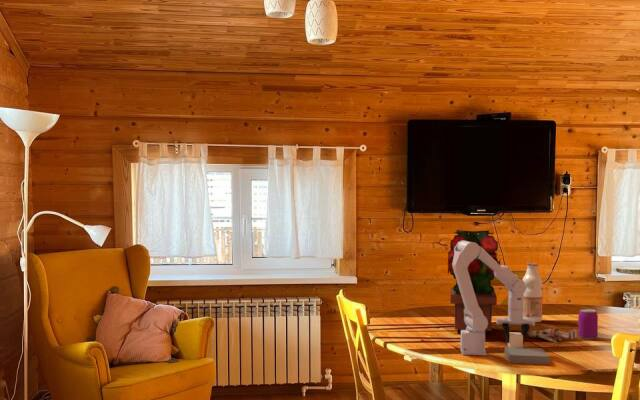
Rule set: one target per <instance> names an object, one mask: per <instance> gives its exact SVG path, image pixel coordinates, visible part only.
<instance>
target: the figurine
mask: <svg viewBox="0 0 640 400" xmlns="http://www.w3.org/2000/svg"><path fill="white" fill-rule="evenodd" d="M577 332H578V331H577V329H572V330H569V331H568V333H567V332H564V331H560V330H559V329H558V328H551V327H550V328H544V329H543V328H542V329H541V330H539V331H538V330H536V329H532V328H531V329H529V330H528V336H529V338H533V339H539V338H540V339H544V340H547V341H549V342H551V343H553V344H557V343H558V341H560V342H563V339H569V340H574V339H575V338H577V335H578V333H577ZM562 338H563V339H562Z"/></svg>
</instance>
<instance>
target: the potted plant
mask: <svg viewBox="0 0 640 400" xmlns="http://www.w3.org/2000/svg"><path fill="white" fill-rule="evenodd" d="M454 234H456V235H454V236H453V239H451V240H450V246H449V247H450V251H448V252H447V255H448V256H447V275H449V274H450V276H453V279H454V280H456V277H455V273H454V270H453V266H452V263H453V258H454V248H455V247H456V245H457V244H458V242H460V241H462V240H465V241H468V242H474V243H477V244H478V245H479V246H480V247H482V248H483V249H484V250H485V251H486V252H487V253H488V254H489V255H490V256H491V257H492V258H493V259H494V260H495V261H496V262H497V263H498V264H499V265H501V259H499V261H498V255H497V254H498V253H497V251H498V250H499V243H498V241H497V240H496V239H495V237H494V236H493V234H494V232H490V230H489V229H488V230H475V231H474V230H463V229H456V231H455V232H454ZM467 269H468V273H469V276H470V279H471V283H472V286H473V289H474V293H475V296H476V299H477V303H478V306H479V307H480V309H481V310H482V312H483V315H484V316H485V317H486V318H487V320H488V326H487V328H486V329H485V335H487V332H492V318H493V312H492V309H493V308H492V306H497V303H498V297H497V294H496V291H495V289H494V286H492V285H491V284H492V283H491V282H492V281H493V280H494V279H495V278H496V277H495V276H494V271H493V270H492V269H491V268H490V267H488V266H487V265H486V264H485V263H484V262H482V261H481V260H480V259H478V258H475V259H474V260H473V261H472V262H470V264H469V265H468V267H467ZM450 304H454V330H458V332H459V334H461V330H466V327H467V325H466V324H465V322H464V309H465V306H464V303H463V300H462V296H461V293H460V290H459V286H458V283H457V280H456V282H455V285H453V287H450Z"/></svg>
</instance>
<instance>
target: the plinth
mask: <svg viewBox="0 0 640 400" xmlns="http://www.w3.org/2000/svg"><path fill="white" fill-rule="evenodd" d="M504 356H505V357H506V359H507V361H508V362H509V364H520V365H521V364H522V365H523V364H525V365H549V366H550V356H549V355H548V353H547V352H546V351H545V350H544V349H543V348H542V347H523V348H522V347H509V346H504Z"/></svg>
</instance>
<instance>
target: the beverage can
mask: <svg viewBox="0 0 640 400" xmlns="http://www.w3.org/2000/svg"><path fill="white" fill-rule="evenodd" d="M598 316H599V315H598V312H597V311H596V310H595V309H593V308H581V309H580V310H579V313H578V321H577V323H578V325H577V326H578V328H577V329H578V330H577V332H578V333H577V335H578V336H579V338H580V339H583V340H589V341H590V340H591V341H592V340H596V339H597V338H598V335H599V334H598V330H599V328H598V327H599V326H598V325H599V323H598V321H599V317H598Z"/></svg>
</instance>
